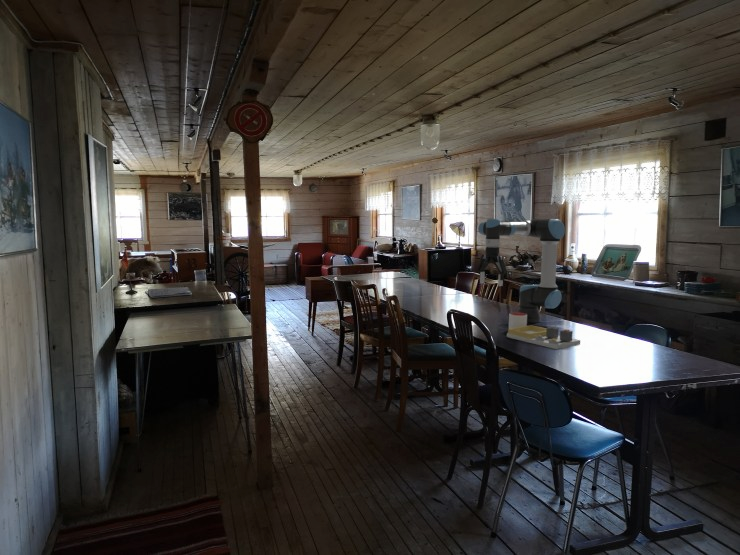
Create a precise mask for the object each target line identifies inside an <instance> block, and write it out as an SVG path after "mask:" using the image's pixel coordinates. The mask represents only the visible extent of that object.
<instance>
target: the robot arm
mask: <svg viewBox="0 0 740 555" xmlns="http://www.w3.org/2000/svg"><path fill="white" fill-rule="evenodd" d="M478 232H479V234H480V235H482V236H483V235H484V236H485V250H484V254H481V256H480V260H479V263H478V265H477V268H476V270H477V271H478V272H479V284H485V277H486V276H485V275H486V274H485V273H486V272H485V270H486V268H487V267H488V266H489V264H492V265H494V266H495V267H496V268H495V269H496V270H497V271H498V273H499V274H498V277H497V278H498V280H497V281H498V282H497V287H504V285H503V284H504V282H503V281H504V279H505V277H504V276H505V274H508V270H507V268H506V264H505V261H504V256H503V255H499V254H500V240H501V237H511V236H513V235H520V236H523V237H531V238H539V242H540V243H541V245H542V246H541V247H542V248H541V265H540V266H541V268H540V283H539V284H523V285H521V286H520V288H519V294H518V295H519V296H518V298H519V302H518V310H517V313H524V314H527V324H532V323H533V324H536V323H540V322H541V314H540V312H539V307H541V308H545V309H555V308H557V307H558V306H559V305H560V303H561V302H562V295H563V294H562V293H561V290H559V287H558V285H557V284H556V276H557V257H558V255H557V254H558V244H559V243H560V242H561V239H563V238H564V235H565V233H566V228H565V225H564V223H563V222H562V220H560V219H558V218H556V219H555V218H536V219H527V220H526V219H525V220H522V221H501V219H500V218H488V219H486V221H483V222H480V223H479V224H478Z"/></svg>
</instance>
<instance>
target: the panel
mask: <svg viewBox="0 0 740 555" xmlns="http://www.w3.org/2000/svg"><path fill="white" fill-rule="evenodd" d="M546 329H547V327H546V328H545V327H542V326H536V325H532V324H531V325H527V326H523V327H517V328H511V329H509V328H508V330H507V333H506V337H507V338H509V339H514V340H517V341H522V342H525V343H528V344H529V343H530V344H534V345H537V346H543V347H545V348H549V349H553V350H557V349H564V348H569V347H572V346H577V345H581V340H580V339H576V338H572V341H568V342H566V341H562V340H560V334H558V338H549V337H546Z"/></svg>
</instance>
